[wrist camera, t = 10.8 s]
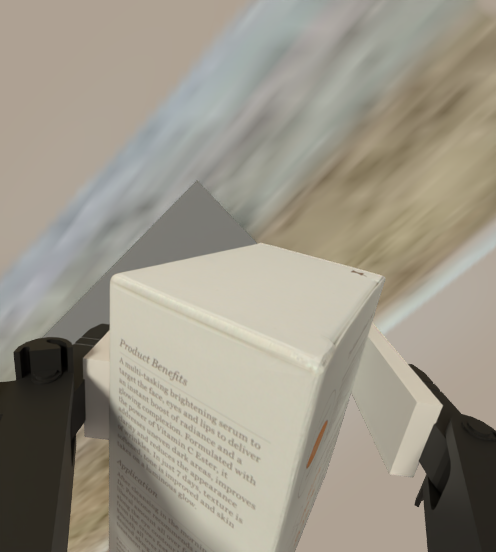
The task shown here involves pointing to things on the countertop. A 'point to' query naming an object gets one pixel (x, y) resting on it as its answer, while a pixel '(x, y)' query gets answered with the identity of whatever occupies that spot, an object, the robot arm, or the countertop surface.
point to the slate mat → (159, 254)
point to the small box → (229, 395)
